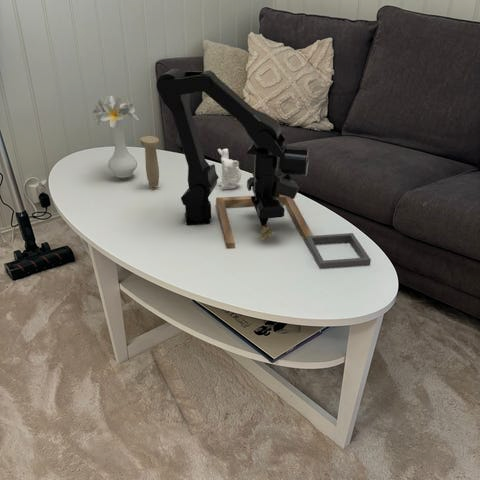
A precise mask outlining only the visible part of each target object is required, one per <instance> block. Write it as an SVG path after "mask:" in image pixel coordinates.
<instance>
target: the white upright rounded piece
mask: <svg viewBox="0 0 480 480" xmlns="http://www.w3.org/2000/svg"><path fill="white" fill-rule="evenodd" d="M217 152H218V153H219V155H221V157H220V161H221V181H220V182H218V183H217V184H218V186H221V187H222V189H223V190H228V189H230V190H231V189H236V188H237V185H236V184H239V183H240V182H241V179H242V171H241V169H240V167H239V165H240V162H239V161H238V160H233V159H230V157H229V149H228V148H223V149H221V148H218V149H217Z"/></svg>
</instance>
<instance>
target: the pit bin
mask: <svg viewBox="0 0 480 480" xmlns="http://www.w3.org/2000/svg"><path fill="white" fill-rule="evenodd" d="M334 244H335V245H336V244H337V245H338V244H349V245H350V246H351V247H352V249H353V250H354V252H355V253H356V254H357V256H358V257H355V258H354V257H353V258H352V257H351V258H340V259H329V260H328V259H327V260H326V259H325V260H324V258H323V256H322V255H321V253H320V251H319V249H318V247H317V246H321V245H334ZM305 245H306V246H307V249H308V250H309V252H310V254H311V255H312V257H313V259H314V261H315V262H316V264H317V266H318V268H319V269H334V268H349V267H352V268H353V267H363V266H366V267H367V266H371V261H372V260H371V258H370V256H369V254H368V253H367V251H366V250H365V249H364V247H363V246H362V244H361V243H360V242H359V239H357V237H356V236H355V235H354V233H353V232H348V233H346V232H345V233H334V234H321V235H319V234H318V235H313V236H307V237H306V243H305Z"/></svg>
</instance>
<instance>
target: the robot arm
mask: <svg viewBox="0 0 480 480" xmlns="http://www.w3.org/2000/svg"><path fill="white" fill-rule="evenodd" d="M156 81H157V82H156V85H155V86H156V90H157V91H156V92H158V94H159V98H160V99H161V100H162V101H161V102H162V103H163V104H164V106H166V108H167V109H168V110H169V111H170V113H171V115H172V119H173V121H174V125H175V129H176V131H177V135H178V138H179V141H180V145H181V148H182V151H183V154H184V158H185V160H186V164H187V184H188V185H187V186H188V188H187V189H186V191H185V192H184V193H183V194H182V196H181V197H180V200H181V202H182V205H184V208H185V212H184V215H185V216H184V217H185V225H186V226H196V225H197V226H198V225H199V226H200V225H210V224H211V219H212V203H211V201H210V200H209V196H211V194H212V192H213V191H214V189H215V188H216V187H217V184H218V180H219V178H220V177H219V175H218V174H217V171H216V170H217V169H216V165H215V164H214V163H213V164H209V162H208V161H207V160H206V158H205V155H204V151H203V148H202V145H201V142H200V138H199V134H198V131H197V127H196V124H195V121H194V118H193V113H192V110H191V108H190V107H191V106H190V105H191V104H190V101H191V94H193V93H199V92H204V93H205V94H206V95H207V96H208V97H209V98H210V99H212V100H213V101H214V102H215V103H216V104H217V105H219V106H220V107H221V108H222V109H223V110H224V111H226V112H227V113H228V114H229V115H230V116H231V117H233V118H234V120H236V121H237V122H238V123H240V124H241V125H242V127H243V128H244V130H245V132H246V134H247V135H248V136H249V138H250V140H251V141H252V142H253V144H251V146H249V147H248V149H247V150H246V152H245V153H246V154H247V155H253V156H254V166H253V167H254V169H253V170H254V171H252V177H251V176H250V177H249V178H248V179H247V181H246V188H247V190H248V191H249V192H251V191H252V192H253V195H251V196H252V197H251V199H252V202H253V205H254V206H253V207H254V210H255V212H256V214H257V215H256V216H257V218H258V220H259V222H260V225H261V226H262V227H263V226H267V224H268V221H269V219H274V218H275V219H277V218H279V219H280V218H283V217H285V213H286V211H285V210H286V209H285V207H284V205H282V203H281V202H280V201H279V200H276V197H279V196H280V195H283V196H287V197H290V198H291V199H294V200H295V198H296V196H297V194H298V191H299V190H300V186H299V185H298V183H297V181H295V180H294V179H292V176H291V175H293V176H294V175H295V176H302V177H306V176H307V174H308V170H309V162H310V157H309V147H307V146H301V147H299V146H291V145H289V146H288V144H289V142H288V140H287V139H286V137H285V136H284V134H283V133H282V129H281V128H282V127H281V124H280V123H279V121H277V119H275V118H273V117H272V116H270V115H269V114H267V113H265V112H262V111H260V110H257V109H255V108H254V107H253V106H252V105H250V104H249V103H248V102H247V101H246V100H244V99H243V98H242V97H241V96H240V95H238V94H237V93H236V92H235V91H234V90H232V88H231V87H230V86H228V85H227V84H226V83H225V82H223V81H222V79H220V78H219V77H218V76H217V75H216V73H214V72H213V71H212V70H208V69H207V70H204V71H202V70H201V71H198V70H189V71H183V70H182V69H179V68H172V69H170V70H168V71H166V72H164V74H161V75H160V76H159V77H158V79H157V80H156ZM278 161H279V162H278ZM278 165H279V167H278ZM278 168H279V170H280V172H281V173H282V174H281V175H279V176H278Z"/></svg>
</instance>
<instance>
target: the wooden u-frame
mask: <svg viewBox="0 0 480 480" xmlns="http://www.w3.org/2000/svg"><path fill="white" fill-rule="evenodd" d="M252 196H253V195H241V196H237V195H236V196H222V197H221V196H220V197H215V206H216V211H217V215H218V219H219V223H220V227H221V231H222V235H223V239H224V243H225V246H226V249H235V248H236V243H235V239H234V238H235V237H234V235H233V230H232V227H231V224H230V218H229V215H228V211H227V209H232V208H248V207H254V205H253V202H252V199H251V197H252ZM276 200H279V201H280V202H281V203H282V205H283V206H285V208H286V210H287V213H288V214H289V216H290V218H291V219H292V221H294V222H293V224H294V225H295V227H296V228H298V229H297V230H298V232H299V234H300V236H301V238H302V237H303V238H302V239H303V241H304V243H305V244H306V237H307V236H314V235H313V233H312V231H311V229H310V226H309V225H308V223H307V221H306V219H305V218H304V216H303V214H302V213H301V210H300V209H299V207H298V204H297V203H296V201H295V198H294V199H291V198H290V197H287V196H283V195H280V196H279V197H276Z"/></svg>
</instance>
